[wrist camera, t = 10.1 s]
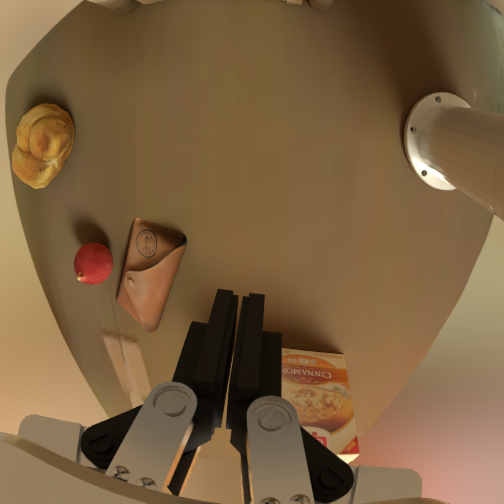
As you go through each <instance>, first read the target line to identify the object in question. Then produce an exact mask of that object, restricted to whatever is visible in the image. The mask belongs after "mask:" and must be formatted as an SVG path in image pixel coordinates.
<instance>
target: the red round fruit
mask: <svg viewBox="0 0 504 504" xmlns="http://www.w3.org/2000/svg"><path fill="white" fill-rule="evenodd" d="M112 268H113V257H112V255H111V252H110V251H109V250H108V248H107V247H105V246H104V245H103V244H100V243H87V244H85V245H84V246H82V247H81V248H80V249H79V250H78V252H77V254H76V257H75V260H74V269H75V273H76V275H77V279H78V280H79V281H82V282H83V283H87V284H90V285H93V284H98V283H102V282H103V281H105V280H106V279H107V278H108V277H109V276H110V273H111V271H112Z"/></svg>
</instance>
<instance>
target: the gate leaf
mask: <svg viewBox="0 0 504 504" xmlns="http://www.w3.org/2000/svg"><path fill="white" fill-rule="evenodd" d="M137 1H139V2H140V3H142V4H144V5H145V4H152V3H156V2H157V1H160V0H137ZM285 1H287V2H286V3H292V4H299V5H301V4H302V0H285Z"/></svg>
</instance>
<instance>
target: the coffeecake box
mask: <svg viewBox="0 0 504 504" xmlns="http://www.w3.org/2000/svg"><path fill="white" fill-rule="evenodd" d="M282 398H284V399H285V400H287V401H288V402H290V403H291V404H292V405H293V406H294V408H295V410H296V412H297V415H298V420H299V425H300V426H302V427H303V428H304V429H305V430H306V431H307V432H309V433H310V434H311V435H312V436H313V437H315V438H316V439H317V440H318V441H319V442H321V443H322V444H323V445H324V446H325V447H327V448H328V449H329V450H330V451H332V452H333V453H334V454H335V455H337V456H338V457H339V458H341V459H342V460H343V461H344V462H346V463H349V462H350V461H352V460H354V459H355V458H356V457H357V456H358V455H359V448H358V440H357V432H356V425H355V418H354V411H353V405H352V398H351V392H350V387H349V381H348V375H347V370H346V364H345V359H344V354H334V353H323V352H313V351H303V350H295V349H287V348H282Z"/></svg>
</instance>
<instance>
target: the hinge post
mask: <svg viewBox="0 0 504 504" xmlns="http://www.w3.org/2000/svg"><path fill="white" fill-rule="evenodd" d="M333 1H334V0H309V5H310V7H311V8H312V9H314V10H316V11H320V12H323V11H326V10H328V9H329V7H330V6H331V4H332V3H333Z"/></svg>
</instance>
